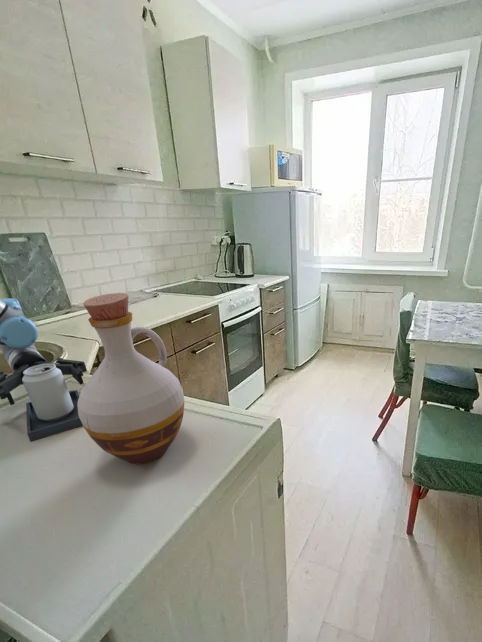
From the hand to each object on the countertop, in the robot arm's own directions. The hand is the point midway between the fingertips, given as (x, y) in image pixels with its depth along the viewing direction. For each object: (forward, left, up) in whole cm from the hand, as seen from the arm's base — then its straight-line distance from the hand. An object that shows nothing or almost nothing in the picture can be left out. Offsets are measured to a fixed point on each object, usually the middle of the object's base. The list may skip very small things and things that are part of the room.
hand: (47, 388), depth 78 cm
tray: (-1, +2, -8) cm, 9 cm away
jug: (+24, -16, -8) cm, 30 cm away
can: (-1, +2, -8) cm, 8 cm away
